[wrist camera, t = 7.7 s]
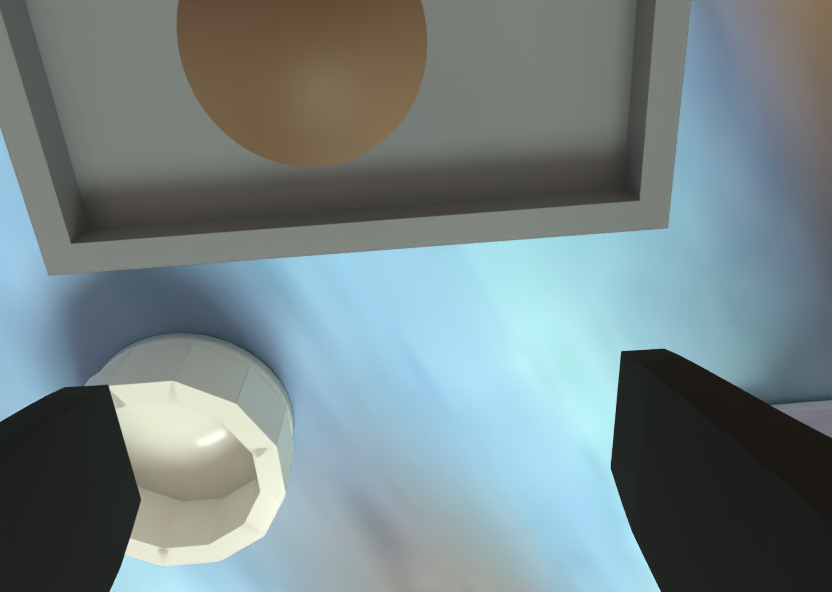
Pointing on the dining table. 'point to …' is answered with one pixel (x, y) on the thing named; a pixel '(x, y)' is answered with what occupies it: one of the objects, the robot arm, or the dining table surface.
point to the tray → (355, 179)
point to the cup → (200, 445)
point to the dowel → (304, 72)
